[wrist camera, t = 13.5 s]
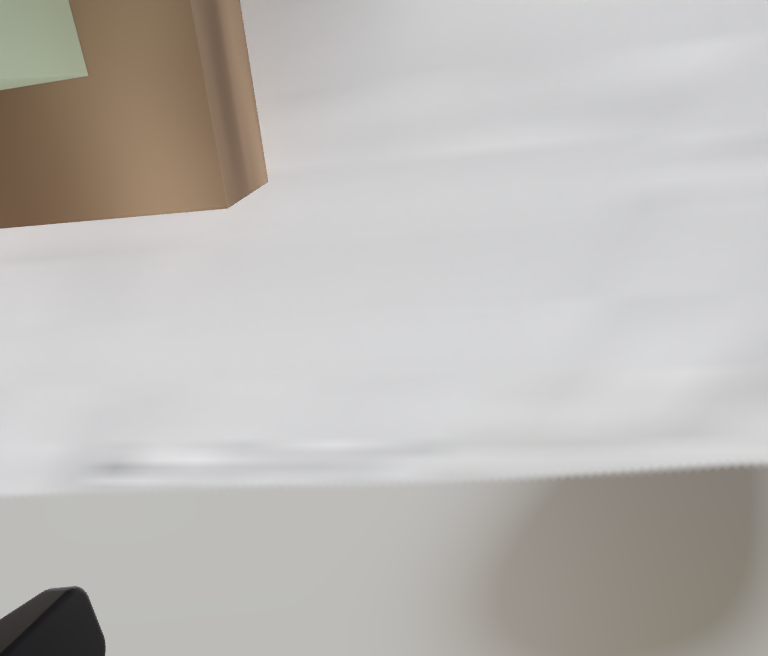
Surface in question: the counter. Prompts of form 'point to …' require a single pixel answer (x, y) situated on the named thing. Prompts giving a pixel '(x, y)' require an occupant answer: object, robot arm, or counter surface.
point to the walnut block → (136, 118)
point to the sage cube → (38, 43)
